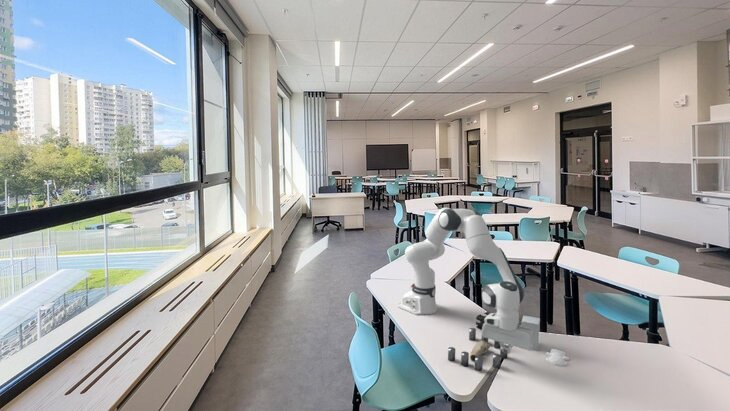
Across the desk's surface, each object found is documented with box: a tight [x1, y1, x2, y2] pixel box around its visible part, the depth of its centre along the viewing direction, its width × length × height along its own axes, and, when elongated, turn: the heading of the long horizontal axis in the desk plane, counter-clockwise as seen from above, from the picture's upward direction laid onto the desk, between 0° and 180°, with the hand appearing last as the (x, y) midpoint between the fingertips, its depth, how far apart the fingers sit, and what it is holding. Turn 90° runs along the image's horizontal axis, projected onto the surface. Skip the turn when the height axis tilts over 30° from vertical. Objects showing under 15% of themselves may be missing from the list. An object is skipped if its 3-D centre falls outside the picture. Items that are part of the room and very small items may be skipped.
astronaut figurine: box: [545, 348, 570, 367], centre depth 164 cm, size 9×12×3 cm
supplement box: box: [520, 315, 541, 352], centre depth 174 cm, size 7×7×13 cm
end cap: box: [475, 311, 491, 331], centre depth 192 cm, size 10×7×7 cm
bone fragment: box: [469, 340, 491, 361], centre depth 167 cm, size 14×6×5 cm, turn 139°
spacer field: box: [447, 327, 509, 372], centre depth 167 cm, size 20×25×5 cm
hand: (506, 352), depth 160 cm, fingers closed
